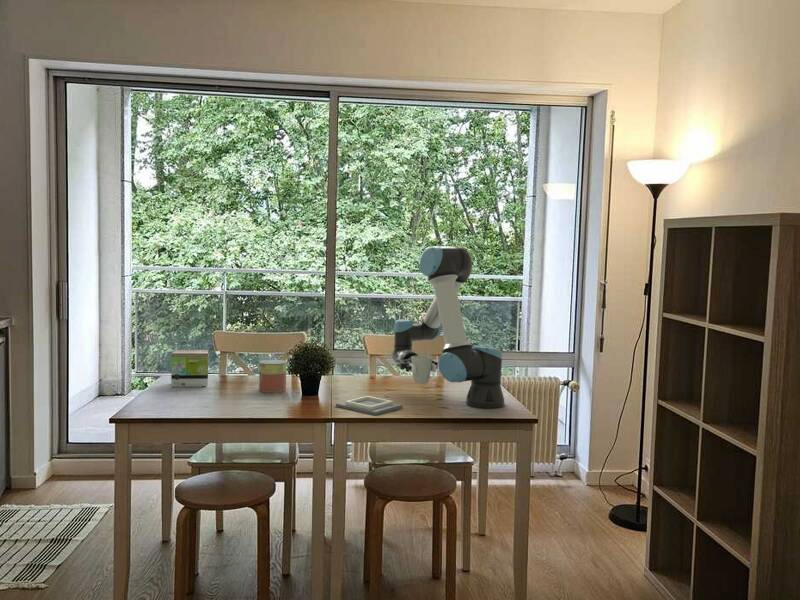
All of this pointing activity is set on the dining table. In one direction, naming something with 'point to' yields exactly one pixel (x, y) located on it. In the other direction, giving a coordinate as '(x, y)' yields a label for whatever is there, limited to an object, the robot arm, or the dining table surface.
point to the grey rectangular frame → (370, 405)
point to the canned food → (272, 375)
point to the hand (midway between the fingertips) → (425, 369)
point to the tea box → (189, 368)
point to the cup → (422, 368)
